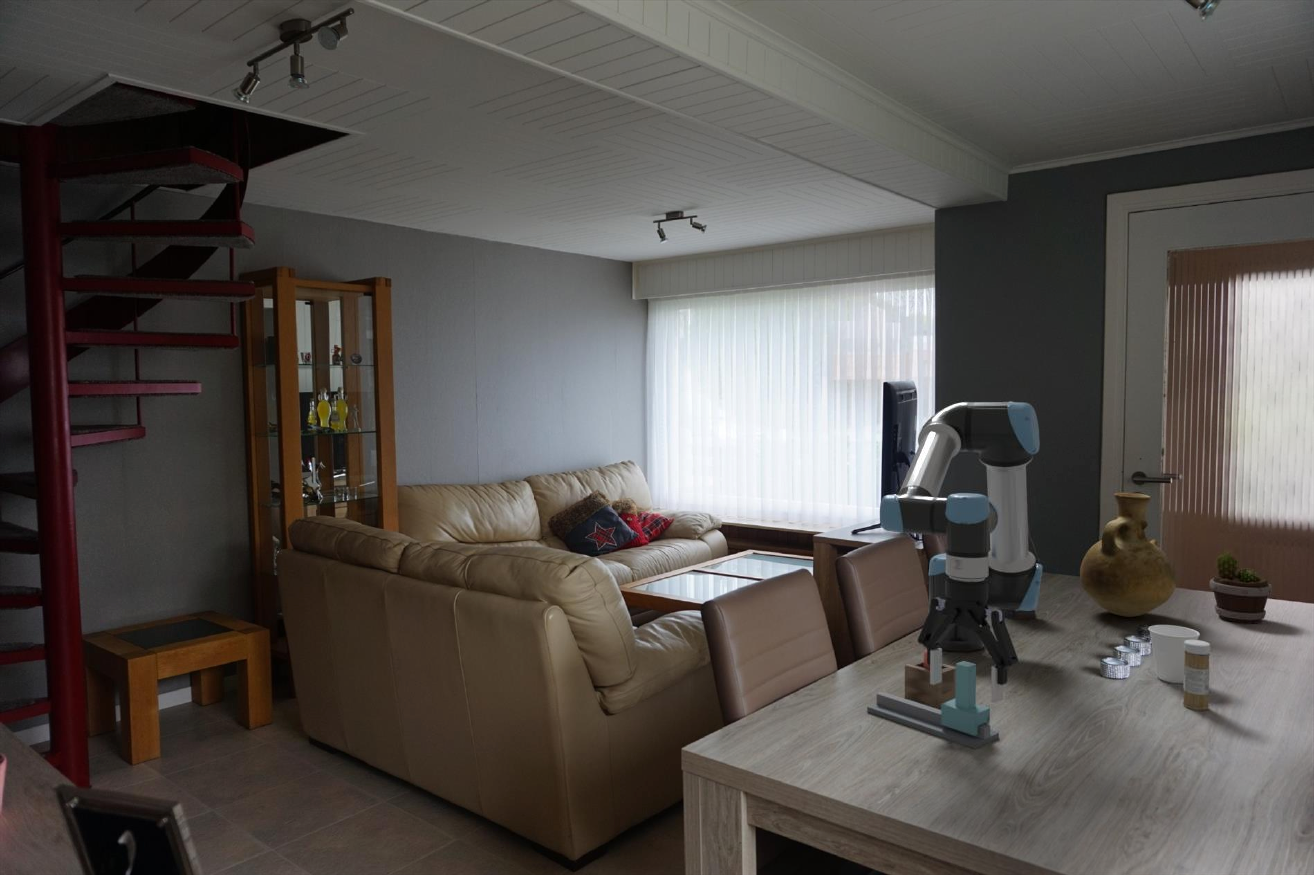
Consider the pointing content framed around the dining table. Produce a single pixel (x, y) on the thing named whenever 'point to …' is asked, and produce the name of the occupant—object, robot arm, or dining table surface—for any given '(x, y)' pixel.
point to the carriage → (965, 703)
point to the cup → (1170, 650)
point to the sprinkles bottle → (1196, 674)
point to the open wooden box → (923, 690)
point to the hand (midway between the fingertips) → (965, 691)
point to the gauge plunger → (926, 660)
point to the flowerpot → (1239, 591)
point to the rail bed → (927, 720)
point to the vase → (1127, 563)
